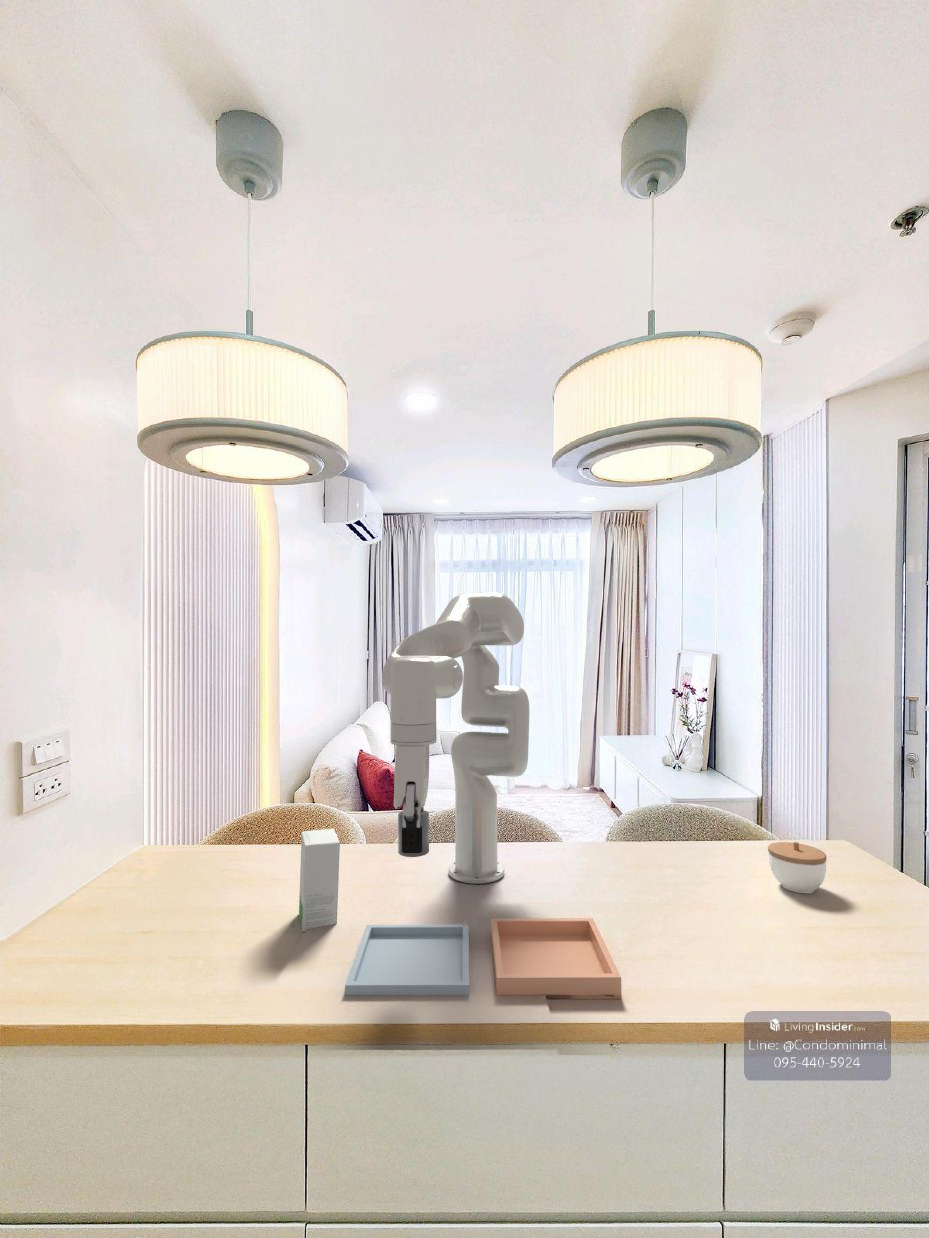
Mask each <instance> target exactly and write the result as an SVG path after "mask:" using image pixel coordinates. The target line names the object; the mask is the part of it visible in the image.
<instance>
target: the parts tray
mask: <svg viewBox="0 0 929 1238" xmlns="http://www.w3.org/2000/svg"><path fill="white" fill-rule="evenodd" d="M469 928H470V927H469V924H467V923H465V924H463V923H461V924H455V923H454V924H453V923H452V924H450V923H449V924H448V923H447V924H446V923H445V924H433V923H432V924H366V925H365V927H364V931H363V933H362V937H361V938H360V939H361V940H360V943H359V945H358V947H357V951H356V953H355V957H354V959H353V963H352V965H351V968H350V969H349V973H348V975H347V978H346V981H345V984H344V996H346V997H348V996H349V997H351V996H352V997H353V996H354V997H356V996H357V997H358V996H360V997H361V996H362V997H363V996H368V997H369V996H373V997H375V996H379V997H380V996H383V997H384V996H387V997H388V996H389V997H390V996H393V997H395V996H470V945H469V944H470V943H469V942H470V941H469V940H470V938H469V937H470V936H469V933H470V932H469V931H470V930H469Z"/></svg>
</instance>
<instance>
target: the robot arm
mask: <svg viewBox="0 0 929 1238" xmlns="http://www.w3.org/2000/svg"><path fill="white" fill-rule="evenodd" d="M522 616H523V615H522V614H521V612H520V610H519V609H518V607H517V605H515V603H514V602H513V600H511V598H509V596H507V595H505V594H504V593H503V594H502V593H500V592H485V593H482V592H481V593H464V594H458V595H456V596H454V597H453V598H452V599H451V600H449V602H448V604H447V606H446V607H445V608H444V610H443V611H442V613H441V615H439V618H438V619H437V620H436V622H435V624H432V625H430V626H427V627H425V628H423V629H422V630H421V629H420V630H419V631H417V632H415V633H413V634H410V635H409V636H406V637H405V638H403V639H402V640H401V641H400V642H398V643H397V644H396V646H395V647H394V649H393V650H392V651H391V653H390V654H389V656H388V657H387V659H386V661H385V663H384V665H383V669H382V673H381V682H382V687H383V689H384V690H385V692H386V694H388V695H390V744H391V745H394V746H396V748H395V749H396V750H395V758H394V785H393V786H394V788H393V807H394V809H397V810H398V809H399V808H401V807H402V811H403V826H402V852H403V853H421V852H422V826H421V810H424V811H425V806H426V803H427V802H426V801H427V798H428V790H429V783H430V782H429V780H430V745H433V744H436V743H437V699H438V700H439V699H441V700H442V699H450V698H451V697H454V696H455V695H456V694H458V692H459V691H460V689H461V687H462V692H461V709H460V710H461V711H460V712H461V717H462V721H464V723H465V724H467V725H470V726H476V727H490V728H506V729H507V731H508V732H493V731H492V732H491V731H466V732H462V733H459V734H458V735H457V736H455V737H454V738H453V740H452V743H451V748H450V756H451V762H452V769H453V776H454V785H455V786H454V789H455V790H454V791H455V792H454V794H455V801H454V802H455V813H454V815H455V816H454V820H455V825H454V826H455V829H454V830H455V831H454V833H455V838H454V839H455V841H454V842H455V847H454V849H455V850H454V851H455V861H453V862H452V863H451V864H449V866H448V875H449V876H450V877H451V878H452V879H453V880H456V881H457V882H460V883H465V884H474V885H475V884H476V885H478V884H479V885H480V884H488V883H489V884H490V883H493V882H496V881H499V880H500V879H501V878H503V877H504V875H505V867H504V865H503V864H502V863H501V862H499V861H498V795H497V791H496V788H495V786H494V785H493V783H492V781H491V780H490V778H489V777H488V776H492V777H493V776H494V777H495V776H496V777H509V778H510V777H511V778H513V777H516V778H517V777H520V776H522V775H524V774H525V772H526V771H527V767H528V763H529V762H528V761H529V742H530V741H529V737H530V736H529V734H530V701H529V697H528V693H527V692H526V690H524V688H522V687H519V686H518V685H516V686H515V685H500V682H499V680H500V665H499V662H498V660H497V659H496V657H495V656H494V655H493V654H492V652H491V651H490V650H489V649H488V648H487V647H486V646H515V645H517V644H518V643H520V642H521V641H522V639H523V636H524V632H525V624H524V619H523V617H522ZM460 657H461V660H462V664H463V665H462V666H463V670H462V667H461V665H460V663H459V662H458V661H457V660H456V659H457V658H460ZM402 805H403V806H402ZM414 811H417V815H416V813H414Z"/></svg>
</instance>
